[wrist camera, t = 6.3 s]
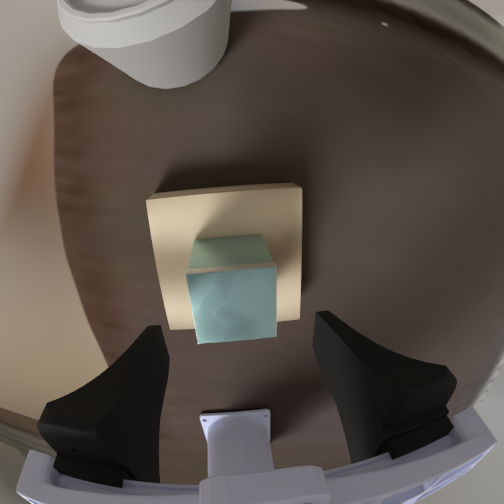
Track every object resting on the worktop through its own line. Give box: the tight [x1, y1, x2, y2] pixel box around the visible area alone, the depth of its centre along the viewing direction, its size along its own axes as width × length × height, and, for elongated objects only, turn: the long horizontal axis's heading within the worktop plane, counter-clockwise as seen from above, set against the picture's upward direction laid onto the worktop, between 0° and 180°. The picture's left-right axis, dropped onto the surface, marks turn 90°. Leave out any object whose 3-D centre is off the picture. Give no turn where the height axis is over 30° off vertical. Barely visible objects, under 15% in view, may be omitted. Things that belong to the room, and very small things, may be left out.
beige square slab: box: [146, 183, 302, 330], centre depth 21 cm, size 10×10×3 cm
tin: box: [186, 234, 277, 344], centre depth 17 cm, size 4×4×5 cm
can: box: [57, 0, 232, 89], centre depth 10 cm, size 8×8×12 cm
